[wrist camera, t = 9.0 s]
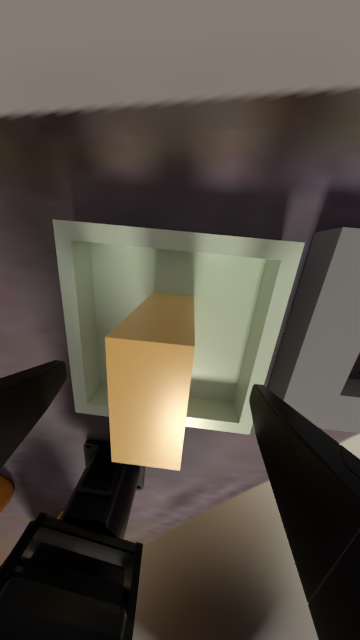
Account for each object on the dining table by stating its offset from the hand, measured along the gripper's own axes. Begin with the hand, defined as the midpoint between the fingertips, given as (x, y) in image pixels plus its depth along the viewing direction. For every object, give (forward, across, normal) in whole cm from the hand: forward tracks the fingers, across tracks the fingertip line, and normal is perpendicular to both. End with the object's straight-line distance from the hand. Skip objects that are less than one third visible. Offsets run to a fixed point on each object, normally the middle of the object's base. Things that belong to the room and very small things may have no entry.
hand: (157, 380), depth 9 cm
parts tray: (+7, 0, 0) cm, 7 cm away
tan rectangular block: (+6, 0, 0) cm, 6 cm away
